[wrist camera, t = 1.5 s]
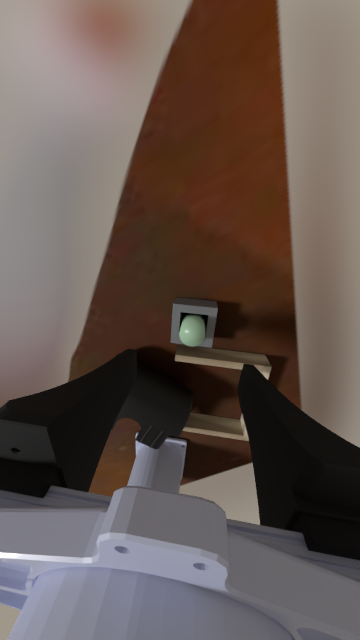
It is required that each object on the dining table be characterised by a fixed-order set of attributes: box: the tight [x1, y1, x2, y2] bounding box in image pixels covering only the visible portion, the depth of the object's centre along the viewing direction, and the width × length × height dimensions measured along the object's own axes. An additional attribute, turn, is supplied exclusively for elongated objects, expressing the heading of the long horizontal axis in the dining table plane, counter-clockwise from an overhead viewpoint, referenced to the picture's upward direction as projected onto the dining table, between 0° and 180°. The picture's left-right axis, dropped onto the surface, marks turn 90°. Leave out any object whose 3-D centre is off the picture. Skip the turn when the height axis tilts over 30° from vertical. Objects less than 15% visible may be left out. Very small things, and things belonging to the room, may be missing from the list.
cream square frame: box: [175, 344, 272, 441], centre depth 24 cm, size 12×10×2 cm
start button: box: [179, 313, 205, 347], centre depth 19 cm, size 2×2×3 cm
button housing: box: [171, 297, 218, 348], centre depth 20 cm, size 4×4×2 cm
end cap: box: [112, 354, 193, 449], centre depth 22 cm, size 10×7×7 cm
